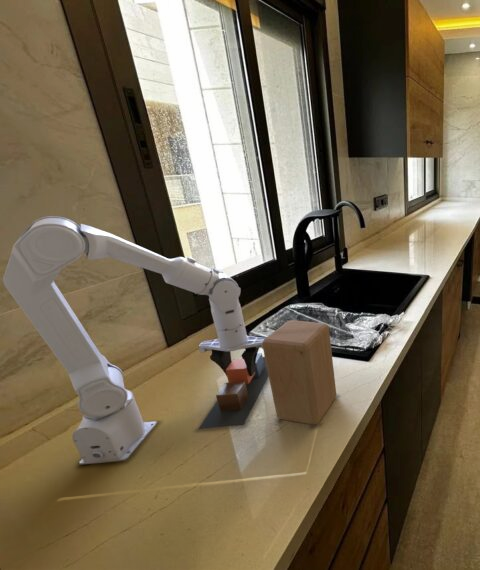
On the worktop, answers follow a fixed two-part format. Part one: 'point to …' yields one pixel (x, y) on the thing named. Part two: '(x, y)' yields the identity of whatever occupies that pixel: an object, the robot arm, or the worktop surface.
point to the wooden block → (300, 370)
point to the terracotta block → (238, 371)
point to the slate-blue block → (259, 365)
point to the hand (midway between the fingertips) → (241, 374)
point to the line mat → (237, 416)
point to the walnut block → (232, 396)
